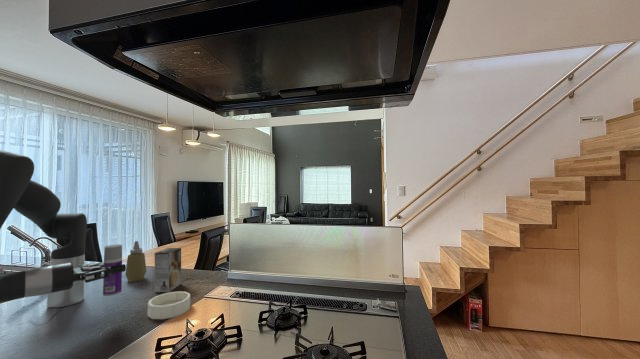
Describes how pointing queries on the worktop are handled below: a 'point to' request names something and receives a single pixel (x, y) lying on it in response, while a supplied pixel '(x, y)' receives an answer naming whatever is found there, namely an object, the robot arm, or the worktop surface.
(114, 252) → the container
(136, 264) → the squeeze bottle
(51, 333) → the worktop surface
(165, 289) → the coffee box
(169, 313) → the bowl
